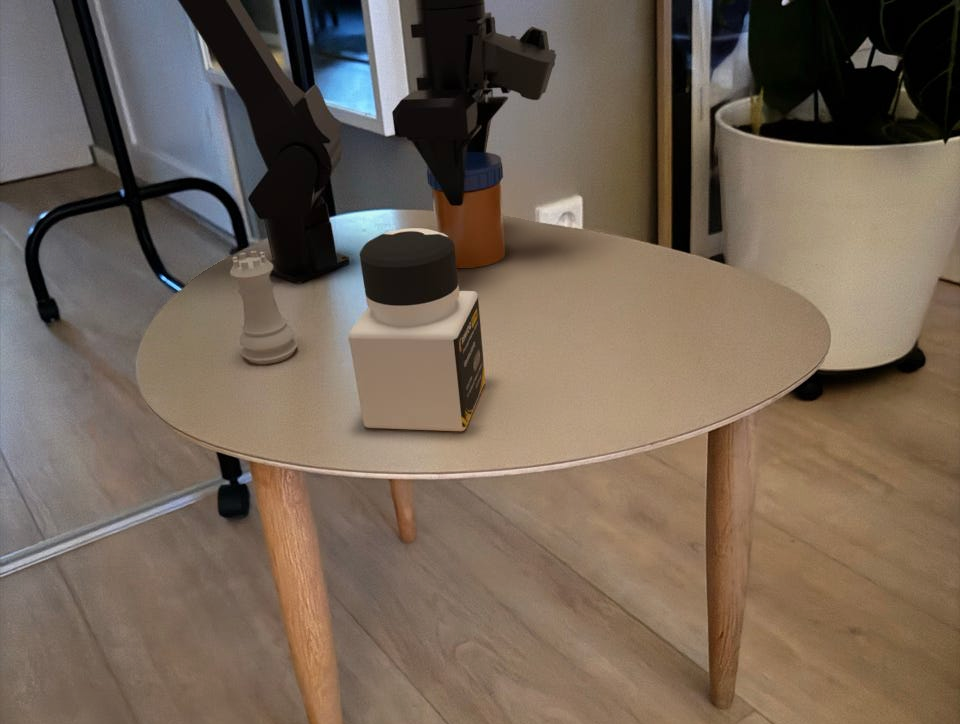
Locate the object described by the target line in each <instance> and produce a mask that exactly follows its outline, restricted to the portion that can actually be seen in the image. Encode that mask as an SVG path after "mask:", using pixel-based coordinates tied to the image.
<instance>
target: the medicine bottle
mask: <svg viewBox="0 0 960 724" xmlns="http://www.w3.org/2000/svg"><path fill="white" fill-rule="evenodd" d="M359 261H360V268H361V273H362V274H361V275H362V280H363V288H364V294H365V299H366V305H367V308H366V309H365V310H364V312H363V313H362V314H361V316H360V317H359V318H358V320H357V321H356V323H355V324H354V325H353V327H352V328H351V329H350V331H349V332H348V342H349V347H350V354H351V360H352V366H353V371H354V376H355V383H356V389H357V394H358V400H359V407H360V411H361V418H362V422H363V425H364V427H366V428H368V429H390V430H391V429H392V430H413V431H414V430H415V431H438V432H439V431H440V432H442V431H443V432H444V431H445V432H463V431H465V430H466V429H467V426H468V424H469V421H470V419H471V417H472V414H473V411H474V409H475V407H476V405H477V402H478V400H479V397H480V395H481V393H482V390H483V388H484V386H485V383H486V375H485V373H486V372H485V362H484V349H483V339H482V328H481V327H482V326H481V325H482V324H481V316H480V315H481V314H480V303H479V295H478V292H477V291H475V290H460V287H459V278H458V276H459V275H458V268H457V265H456V255H455V245H454V242H453V241H452V240H451V239H450V238H449V237H448V236H447V235H445V234H443V233H440V232H437V231H436V230H433V229H429V228H421V227H414V228H413V227H411V228H409V227H408V228H401V229H396V230H391V231H388V232H384V233H381V234H380V235H378V236H376V237H373V239H370V240H368V241H367V242H366V243H365V244H364V245H363V247H362V248H361V250H360V252H359Z"/></svg>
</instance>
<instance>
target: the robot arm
mask: <svg viewBox="0 0 960 724" xmlns="http://www.w3.org/2000/svg"><path fill="white" fill-rule="evenodd" d="M177 1H178V3H179V4H180V6H181V7H182V9H183V11H184V13H185V14H186V15H187V17H188V19H189V20H190V22H191V23H192V25H193V26H194V28H195V30H196V31H197V33H198V34H199V35H200V38H201V40H203V43H205V45H206V46H207V48H208V50H209V52H210V53H211V55H212V56H213V57H214V59H215V61H216V62H217V64H218V66H219V67H220V69H221V70H222V72H223V73H224V75H225V76H226V78H227V79H228V81H229V82H230V84H231V86H232V87H233V89H234V90H235V92H236V93H237V95H238V96H239V98H240V99H241V101H242V103H243V105H244V109H245V110H246V114H247V117H248V121H249V125H250V129H251V131H252V135H253V138H254V142H255V145H256V148H257V150H258V151H259V153H260V157H261V158H262V160H263V163H264V165H265V167H266V169H267V171H266V172H265V174H264V175H263V176H262V177H261V179H260V181H259V182H258V183H257V185H256V186H255V187H254V189H252V191H251V193H250V194H249V195H248V198H247V200H248V203H249V204H250V206H251V208H252V209H253V211H254V213H255V214H256V216H257V218H258V219H260V220H263V224H264V228H265V232H266V236H267V242H268V246H269V251H270V256H271V259H269V260H268V261H269V262H271V263H272V264H273V269H272V271H271V273H270V275H274V276H275V277H276V276H277V277H280V278H282V279H285V280H288V281H291V282H294V283H301V282H304V281H307V280H309V279H312V278H314V277H317V276H319V275H322V274H324V273H328V272H329V271H332V270H334V269H337V268H339V267H342V266H344V265H346V264H349V263H350V262H351V260H350V259H351V258H350V257H349V256H348V255H345V254H341V253H338V252H337V249H336V242H335V236H334V231H333V225H332V222H331V221H330V219H331V218H330V214H329V208H328V203H326V202H325V200H324V197H322V196H321V193H322V192H323V191H324V190H325V187H326V186H327V184H328V183H329V181H330V179H331V177H332V175H333V174H334V173H335V170H336V168H337V166H338V165H339V163H340V161H341V158H342V153H343V140H342V137H341V135H340V133H339V129H340V128H341V126H342V122H341V121H340V120H339V119H338V118H336V117H335V116H334V115H333V113H331V111H330V109H329V108H328V106H327V103H326V101H325V98H324V96H323V94H322V91H321V90H320V88H319V86H318V85H317V84H314V85H312V86H311V87H310V88H309V89H308V90H307V91H306V92H304V91H303V90H302V89H301V88H300V87H298V85H296V84H295V83H294V82H293V81H292V80H290V78H289V77H288V76H287V75H286V73H285V72H284V71H283V69H282V67H281V65H280V64H279V63H278V60H277V59H276V58H275V56H274V54H273V52H272V51H271V49H270V47H269V46H268V45H267V43H266V41H265V39H264V37H263V36H262V35H261V33H260V32H259V30H258V28H257V26H256V24H255V23H254V21H253V20H252V18H251V17H250V15H249V13H248V12H247V10H246V8H245V7H244V5H243V3H242V1H241V0H177ZM415 8H416V10H415V11H416V19H417V20H416V21H415V22H413V23H411V24H410V32H411V38H412V39H417V38H418V39H419V48H420V58H421V68H422V73H421V74H420V75H419V76H417V77H415V79H416V89H417V90H413V91H411V92H410V93H408V94H407V95H405V96H404V97H403V98H402V99H400V101H399V102H398V104H397V105H396V106H395V108H394V109H393V110H392V112H391V114H392V122H393V130H394V136H395V137H397V138H406V139H407V141H410V142H411V143H412V144H413V146H414V148H415V149H416V150H417V152H418V154H420V157H421V158H422V159H423V161H424V163H425V164H426V167H427V166H428V167H429V169H430V171H431V172H432V174H433V176H434V178H435V179H436V181H437V183H438V185H439V186H440V188H441V190H442V191H443V193H444V195H445V197H446V198H447V200H448V202H449V204H450V205H452V206H460V205H462V203H463V196H464V184H465V167H466V152H487V149H488V148H487V147H488V142H489V135H490V131H491V124H492V121H493V118H494V117H495V116H496V114H497V113H498V112H499V111H500V109H501V108H502V107H503V106H504V105H505V104H506V103H507V101H508V99H509V97H508V96H505V95H503V96H501V95H499V96H494V90H493V89H500V91H501V94H509V93H510V92H515V93H518V94H519V95H520V97H521V98H524V99H527V100H531V101H539V100H540V99H541V98H542V95H543V94H544V93H547V92H546V91H547V88H548V86H549V81H550V78H551V75H552V71H553V68H554V67H555V65H556V58H557V54H556V50H555V49H552V48H550V45H549V38H548V37H549V36H548V32H547V31H546V30H544V29H541V28H538V27H534V26H531V27H529V28H528V29H527V30H526V31H525V32H524V33H523V34H522V36H521V37H520V38H517V36H515V35H513V34H512V35H510V36H508V35H505V34H501V33H500V32H499V33H498V32H497V31H496V18H495V16H492V12H486V4H485V0H415Z"/></svg>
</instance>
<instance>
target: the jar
mask: <svg viewBox="0 0 960 724" xmlns="http://www.w3.org/2000/svg"><path fill="white" fill-rule="evenodd" d="M501 181H502V180H501ZM501 181H500V182H498V183H497V184H495V185H492V186H490V187H486V188H482V189H478V190H471V191H464V196H463V203H462V205H460V206H452V205H450V204H449V202H448V200H447V198H446V197H445V195H444V193H443V191H442V190H437V189H434V188H432V187H430V189H431V197H432V205H433V207H432V208H433V216H434V224H435V231H437V232H440V233H443V234H445V235H447V236H448V237H449V238H450V239H451V240H452V241H453V242H454V245H455V255H456V265H457V269H475V268H483V267H486V266H490V265H493V264H496V263H498V262H500V261H501V260H502V259H503V258H504V257H505V255H506V244H505V228H504V214H503V213H504V212H503V197H502V182H501Z"/></svg>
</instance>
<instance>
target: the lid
mask: <svg viewBox="0 0 960 724" xmlns="http://www.w3.org/2000/svg"><path fill="white" fill-rule="evenodd" d="M426 176H427V177H426V178H427V184H428V186H429V187H430V188H431V187H432V188H434V189H437V190H441V188H440V186H439V185H438V183H437V181H436V179H435V178H434V176H433V174H432V172H431V171H430V169H429V167H428V166H427V165H426ZM503 178H504V171H503V162H502V157H501V156H500V155H498V154H496V153H492V152H487V151H486V152H466V167H465V184H464V191H471V190H478V189H482V188H486V187H490V186H492V185H495V184H497V183H498V182H500V181H502V180H503Z"/></svg>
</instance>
